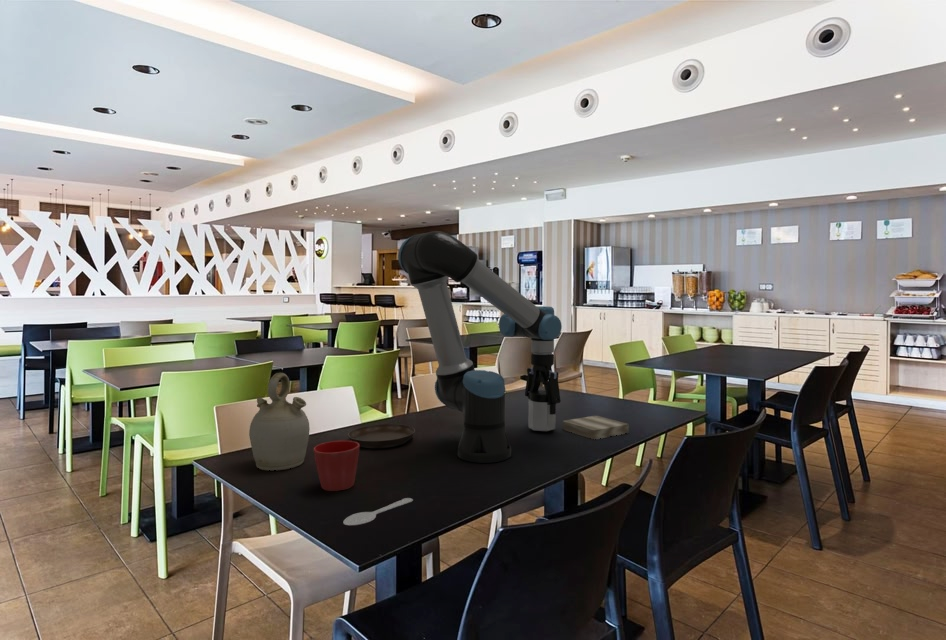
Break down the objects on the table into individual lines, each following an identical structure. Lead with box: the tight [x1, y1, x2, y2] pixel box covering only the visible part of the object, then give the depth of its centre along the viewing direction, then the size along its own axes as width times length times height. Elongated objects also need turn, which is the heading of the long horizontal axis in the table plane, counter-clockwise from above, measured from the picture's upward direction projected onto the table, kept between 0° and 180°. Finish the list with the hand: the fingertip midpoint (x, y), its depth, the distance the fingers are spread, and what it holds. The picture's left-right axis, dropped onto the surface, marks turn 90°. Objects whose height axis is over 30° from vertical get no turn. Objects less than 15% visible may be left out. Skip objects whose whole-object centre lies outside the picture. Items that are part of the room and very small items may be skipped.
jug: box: [248, 372, 310, 472], centre depth 150 cm, size 15×16×25 cm
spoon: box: [342, 497, 414, 526], centre depth 118 cm, size 5×18×1 cm, turn 139°
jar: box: [527, 389, 556, 432], centre depth 184 cm, size 9×8×12 cm
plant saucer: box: [347, 423, 416, 449], centre depth 173 cm, size 21×21×3 cm
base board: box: [562, 414, 630, 441], centre depth 183 cm, size 15×15×3 cm
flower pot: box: [313, 440, 361, 492], centre depth 133 cm, size 11×11×10 cm
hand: (541, 421), depth 184 cm, fingers closed on jar, 9 cm apart
